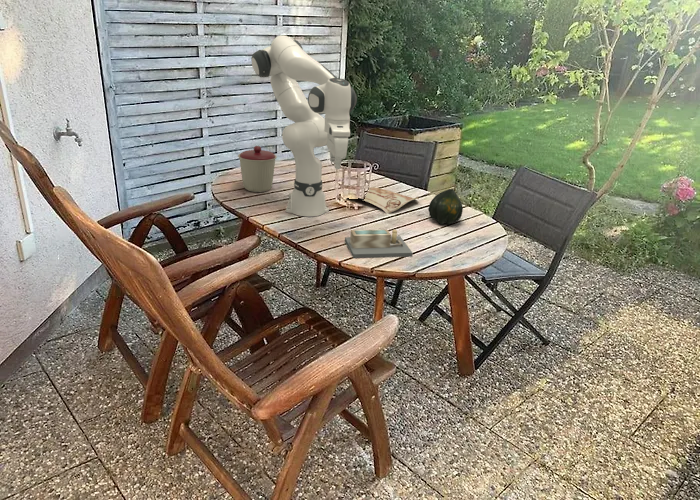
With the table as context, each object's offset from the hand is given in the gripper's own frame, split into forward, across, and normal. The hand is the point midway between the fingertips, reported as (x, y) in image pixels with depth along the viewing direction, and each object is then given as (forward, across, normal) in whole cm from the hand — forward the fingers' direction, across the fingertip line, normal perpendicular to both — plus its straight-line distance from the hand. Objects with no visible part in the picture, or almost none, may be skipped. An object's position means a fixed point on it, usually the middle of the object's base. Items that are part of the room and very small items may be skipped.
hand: (335, 165), depth 192 cm
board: (+29, +10, +16) cm, 35 cm away
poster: (+30, -47, +33) cm, 65 cm away
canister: (+29, -65, -25) cm, 76 cm away
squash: (+29, -18, +53) cm, 63 cm away
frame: (+27, +10, +15) cm, 33 cm away
